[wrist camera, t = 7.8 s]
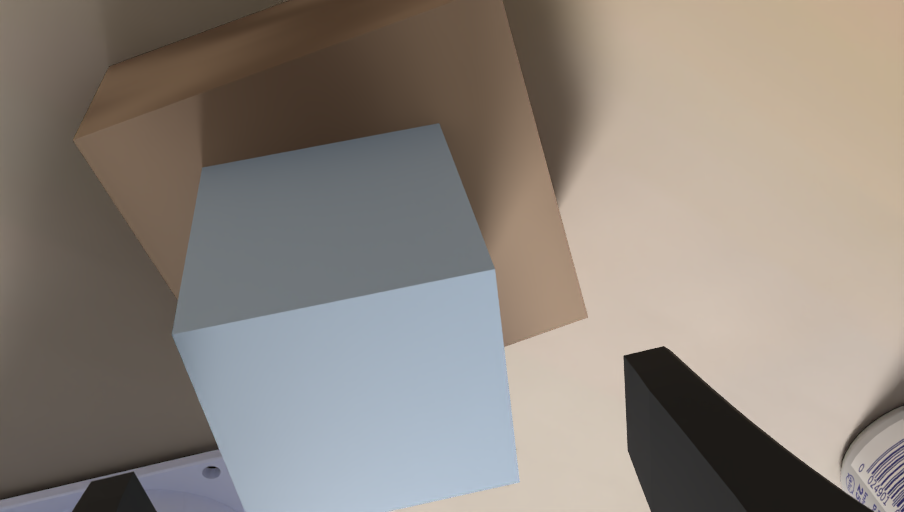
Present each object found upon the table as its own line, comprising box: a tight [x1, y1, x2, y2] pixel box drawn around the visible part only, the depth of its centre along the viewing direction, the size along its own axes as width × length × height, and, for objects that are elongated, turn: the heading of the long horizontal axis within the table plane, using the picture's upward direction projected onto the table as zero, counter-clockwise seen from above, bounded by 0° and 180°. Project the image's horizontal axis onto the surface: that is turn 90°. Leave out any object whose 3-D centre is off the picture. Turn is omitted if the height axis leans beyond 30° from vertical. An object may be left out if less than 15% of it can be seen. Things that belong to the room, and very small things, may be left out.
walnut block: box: [73, 0, 588, 347], centre depth 18 cm, size 8×8×4 cm
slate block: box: [172, 123, 520, 512], centre depth 15 cm, size 4×4×5 cm
